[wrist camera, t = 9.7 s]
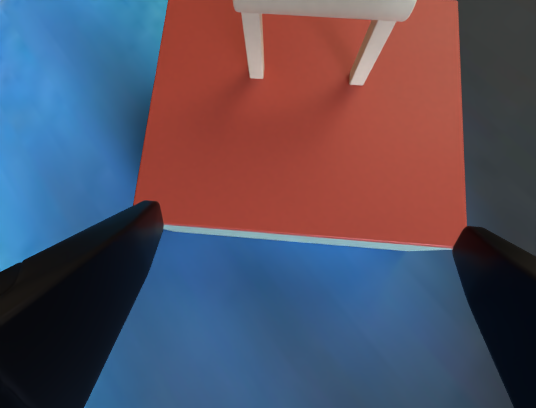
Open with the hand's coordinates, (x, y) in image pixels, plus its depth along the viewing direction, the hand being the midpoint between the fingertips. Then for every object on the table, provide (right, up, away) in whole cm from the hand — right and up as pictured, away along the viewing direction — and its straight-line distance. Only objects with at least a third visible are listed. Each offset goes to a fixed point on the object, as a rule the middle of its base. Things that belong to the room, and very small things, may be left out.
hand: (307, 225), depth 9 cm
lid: (+1, +6, +6) cm, 8 cm away
